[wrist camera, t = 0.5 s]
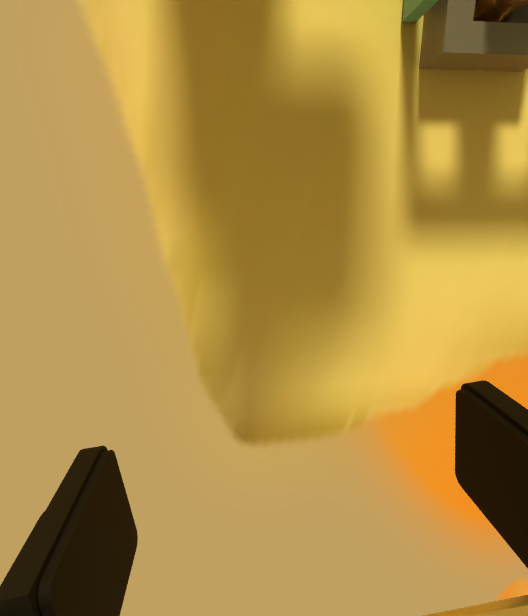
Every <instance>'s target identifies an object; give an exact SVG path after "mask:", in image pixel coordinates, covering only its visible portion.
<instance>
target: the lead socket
mask: <svg viewBox="0 0 528 616" xmlns="http://www.w3.org/2000/svg"><path fill="white" fill-rule="evenodd" d="M475 1H476V0H439V1H438V2H436V3H435V4H434V5H433V6H432V7H431V8H430V9H429V10H428V11H427V12H426V13H425V14H424V24H423V34H422V45H421V56H420V66H419V68H433V69H464V70H495V71H523V70H525V69H527V68H528V3H526V4H525V5H523V6H522V7H520V8H519V9H517V10H516V11H514V12H513V13H511V14H510V15H508V16H506V18H505V22H484V21H473V18H474V10H475Z"/></svg>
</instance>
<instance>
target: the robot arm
mask: <svg viewBox="0 0 528 616" xmlns="http://www.w3.org/2000/svg"><path fill="white" fill-rule="evenodd" d="M455 439H456V440H455V474H456V477H457V480H458V482H459V484H460V485H461V487H462V488H463V489H464V491H465V492H466V493H467V494H468V496H469V497H470V498H471V499H472V500H473V502H474V503H475V504H476V505H477V506H478V508H479V509H480V510H481V511H482V513H483V514H484V515H485V516H486V518H487V519H488V520H489V521H490V523H491V524H492V525H493V526H494V528H495V529H496V530H497V531H498V532H499V534H500V535H501V536H502V537H503V538H504V540H505V541H506V542H507V543H508V545H509V546H510V547H511V548H512V550H513V551H514V552H515V553H516V554H517V556H518V557H519V558H520V559H521V561H522V562H523V563H524V564H525V565H526V567H527V568H528V410H527V409H526V408H525V407H523V406H522V405H520V404H519V403H517V402H516V401H515V400H513V399H512V398H510V397H509V396H508V395H506V394H505V393H503V392H502V391H500V390H499V389H498V388H496V387H495V386H493V385H492V384H491V383H489V382H487V381H478V382H472V383H466V384H463V385H462V387H461V390H458V391H457V393H456V435H455ZM136 547H137V530H136V526H135V523H134V519H133V516H132V512H131V508H130V505H129V501H128V498H127V494H126V491H125V487H124V484H123V480H122V477H121V473H120V470H119V466H118V463H117V459H116V456H115V453H114V451H113V450H109V451H108V450H107V448H106V447H105V446H99V447H93V448H87V449H82V450H80V451H79V453H78V455H77V456H76V458H75V460H74V462H73V463H72V465H71V467H70V469H69V470H68V472H67V474H66V476H65V477H64V479H63V481H62V483H61V484H60V486H59V488H58V490H57V492H56V493H55V495H54V497H53V498H52V500H51V502H50V504H49V506H48V507H47V509H46V511H45V512H44V513H43V514H42V515H41V516H40V518H39V520H38V521H37V523H36V525H35V527H34V528H33V530H32V532H31V534H30V535H29V537H28V539H27V541H26V542H25V544H24V546H23V548H22V549H21V551H20V553H19V555H18V556H17V558H16V560H15V562H14V563H13V565H12V567H11V569H10V570H9V572H8V574H7V576H6V577H5V579H4V581H3V583H2V584H1V586H0V616H119V615H120V611H121V608H122V604H123V600H124V596H125V591H126V588H127V584H128V579H129V576H130V572H131V567H132V564H133V560H134V555H135V552H136ZM425 616H528V595H525V596H520V597H515V598H510V599H505V600H500V601H495V602H490V603H485V604H480V605H475V606H469V607H464V608H459V609H454V610H450V611H444V612H439V613H435V614H429V615H425Z"/></svg>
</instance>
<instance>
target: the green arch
mask: <svg viewBox="0 0 528 616" xmlns="http://www.w3.org/2000/svg"><path fill="white" fill-rule="evenodd" d="M438 1H439V0H404V7H403V20H402V22H416V21H417V20H418V19H419V18H420V17H421V16H422V15H424V14H425V13H426V12H427V11H428V10H429V9H430V8H431V7H432V6H433V5H434V4H435V3H436V2H438Z"/></svg>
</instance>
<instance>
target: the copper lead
mask: <svg viewBox="0 0 528 616" xmlns="http://www.w3.org/2000/svg"><path fill="white" fill-rule="evenodd" d="M526 3H528V0H476V1H475V10H474V18H473V21H484V22H499V21H500V20H502V19H503V18H505V17H506V16H508V15H510V14H511V13H513V12H514V11H516V10H517V9H519V8H520V7H522V6H523V5H525V4H526Z"/></svg>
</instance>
